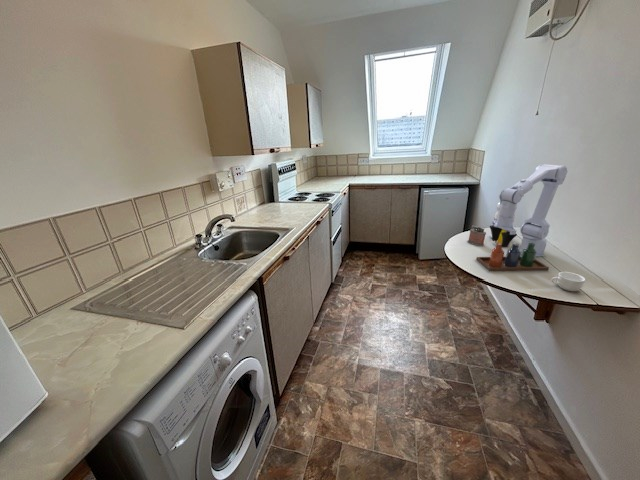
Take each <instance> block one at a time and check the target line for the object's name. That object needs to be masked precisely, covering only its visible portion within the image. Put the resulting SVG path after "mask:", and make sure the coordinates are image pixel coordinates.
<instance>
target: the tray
mask: <svg viewBox="0 0 640 480" xmlns="http://www.w3.org/2000/svg"><path fill="white" fill-rule="evenodd" d="M505 258H506V256H503V261H502V265H501V267H493V266H491V265H489V260H490V256H476V258H475V260H476V261H477V262H478V264H480V265H481V266H482V267H483V268H485V269H486V270H487V271H488V272H542V271H545V272H546V271H549V269H550V267H549V266H547V265H546V264H544V263H543V262H541V261H539V260H538V259H536V258H535V260H534V263H533V266H532V267H525V266H522V265H520V264H519V263H520V259H521V255H520V257H519V260H518V264H517V267H508V266H506V265H504V262H505Z"/></svg>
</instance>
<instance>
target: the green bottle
mask: <svg viewBox="0 0 640 480" xmlns="http://www.w3.org/2000/svg"><path fill="white" fill-rule="evenodd" d="M534 247H535V244H533V243H529V244H528V247H527V248H525V249H523V252H522V254H520V256H521V259H520V263H519V264H520V265H522V266H525V267H532V266H533V263H534V260H535V259H536V257H537V256H536V253H537V252H536V251H535V249H534Z"/></svg>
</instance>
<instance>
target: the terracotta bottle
mask: <svg viewBox="0 0 640 480" xmlns="http://www.w3.org/2000/svg"><path fill="white" fill-rule="evenodd" d="M489 257H490V260H489V265H491V266H493V267H501V265H502V261H503V257H505V251H504V248H503V247H502V244H501V243H496V245H495V247H494V248H493V249H491V250H490V256H489Z"/></svg>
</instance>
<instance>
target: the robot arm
mask: <svg viewBox="0 0 640 480" xmlns="http://www.w3.org/2000/svg"><path fill="white" fill-rule="evenodd" d="M567 174H568V167H567V166H566V165H563V164H562V165H559V164H547V163H546V164H545V163H541V164H539V165H538V166H536V167H535V170H534V172H533V173H532V174H531V175H530V176H529V177H527V178H522V179H520V180H519V181H518V182H516V183H515V184H513V185H512V186H511V187H505V188H504V189H503V190H501V192H500V194H499V195H498V198H499V202H500V205H501V206H500V211H499V215H498V220H494V219H492V222H491V225H489V230H490V233H491V232H492V238H491V240H492V242H495V241H497V240H498V238H499V235H500V233H501V234H502V248H508V247H509V245H510V243H511V242H512V241H513V240H514V239H515V238H516V237H517V229H516V228H514V226H512V222H513V218H514V214H515V213H516V210H517V209H516V206H517V207H518V204H519V203H520V202H521V201H522V199H523V198H524V196H525V195H526V194H528V192H530V191H531V190H533V188H534V185H536V184H537V183H539V182H541V183H542V184H543V188H542V190H541V192H540V195H539V198H538V201H537V203H536V205H535V208H534V210H533V213H532V216H531V217H529V218H526V219H525V220H524V222H523V223H522V224H521V226H520V229H519V232H520V234H521V236H522V239H521V243H520V245H519V246H520V247H519V248H518V249H519V251H520V252H521V253H520V255H522V252H523V249H525V248H527V247H528V244H529V243H533V244H535V247H534V249H535V251H536V252H537V253H536V256H535V257H545V255H544V253H545V251H546V247H547V240H546V238H547V236H548V234H549V229H550V223H549V222H548V221H547V220H546V218H547V215H548V212H549V210H550V208H551V205H552V202H553V200H554V197H555V196H556V194H557V191H558V188H559V186H561V185H563V183H564V182H565V179H566V177H567ZM515 215H516V214H515ZM514 219H515V218H514ZM513 223H514V222H513ZM502 229H503V230H505V231H507V232H501V231H502Z"/></svg>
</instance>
